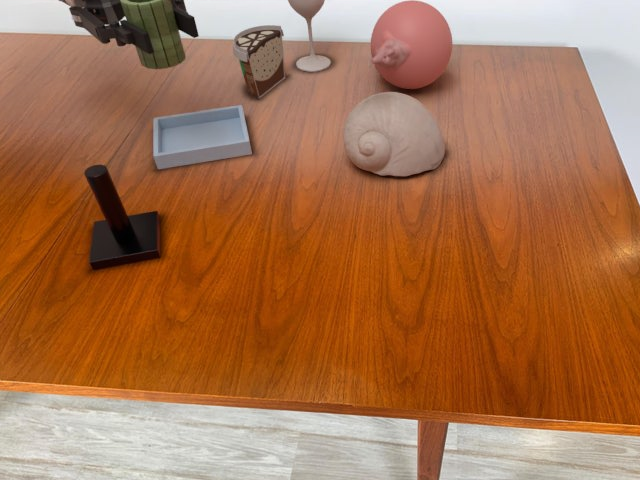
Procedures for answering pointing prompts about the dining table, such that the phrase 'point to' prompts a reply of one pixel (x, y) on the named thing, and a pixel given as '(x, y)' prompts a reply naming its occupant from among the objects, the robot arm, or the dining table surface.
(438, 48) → the balloon
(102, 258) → the post
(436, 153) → the seashell
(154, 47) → the ring sleeve
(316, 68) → the wineglass
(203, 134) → the tray
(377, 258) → the dining table surface
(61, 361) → the dining table surface
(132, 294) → the dining table surface
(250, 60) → the food container
